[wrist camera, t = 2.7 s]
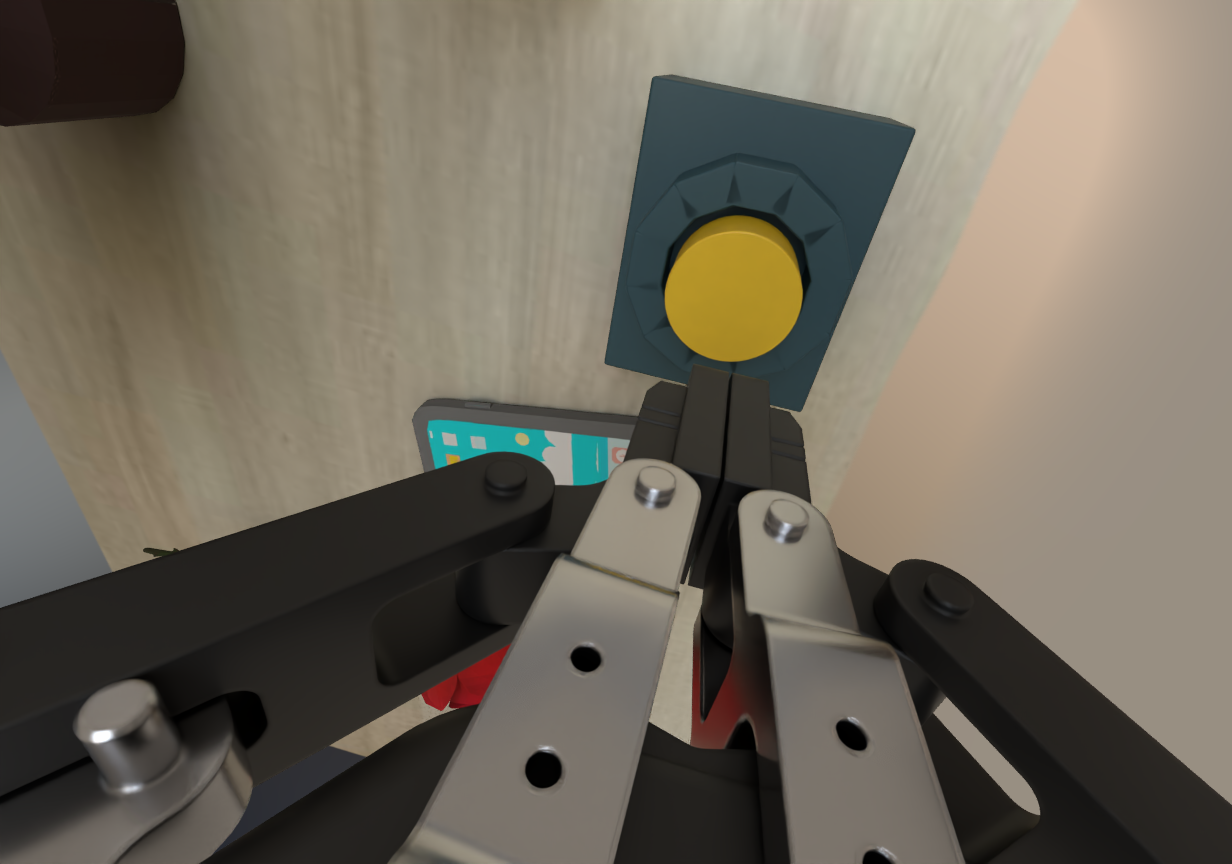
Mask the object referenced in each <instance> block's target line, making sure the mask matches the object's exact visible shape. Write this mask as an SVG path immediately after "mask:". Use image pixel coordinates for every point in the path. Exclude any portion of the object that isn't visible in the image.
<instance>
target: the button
mask: <svg viewBox="0 0 1232 864" xmlns="http://www.w3.org/2000/svg"><path fill="white" fill-rule="evenodd" d="M802 298H803V289H802V282H801V276H800V271H799V266H798V261H797V258H796V254H795V252H794V250H793V247H792V245H791V244H790V242H789V241H788V239H787V238H786V237H785V236H784V235H783V233H782V232H780V231H779V230H778V229H777V228H776V227H774V226H773V225H771V224H770V223H768V222H766V221H764V220H761V219H758V218H755V217H751V216H744V215H734V216H726V217H722V218H718V219H715V220H713V221H711V222H709V223H707V224H705V225H703V226H702V227H700V228H699V229H698V230H696V231H695V232H694V233H693V234H692V235H691V236H690V237H689V238H688V239H687V240H686V242H685V243H684V244H683V246H682V248H681V249H680V251H679V253H678V256H677V258H676V260H675V262H674V265H673V267H672V269H671V272H670V274H669V276H668V280H667V283H666V288H665V308H666V313H667V317H668V320H669V322H670V325H671V326H672V328H673V330H674V332H675V333H676V335H677V336H678V337H679V338H680V340H681V341H682V342H683V343H684V344H685V345H687V346H688V347H689V348H690V349H692V350H693V351H695V352H697V353H698V354H700V355H703V356H705V357H707V358H710V359H714V360H719V361H727V362H735V361H744V360H749V359H752V358H755V357H758V356H760V355H763V354H765V353H766V352H768V351H770V350H772V349H773V348H774V347H776V346H777V345H778V344H779V343H780V342H782V341H783V340H784V339H785V338H786V336H787V335H788V334H789V333H790V331H791V330H792V328H793V326H794V325H795V323H796V321H797V318H798V316H799V313H800V310H801V305H802Z"/></svg>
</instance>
